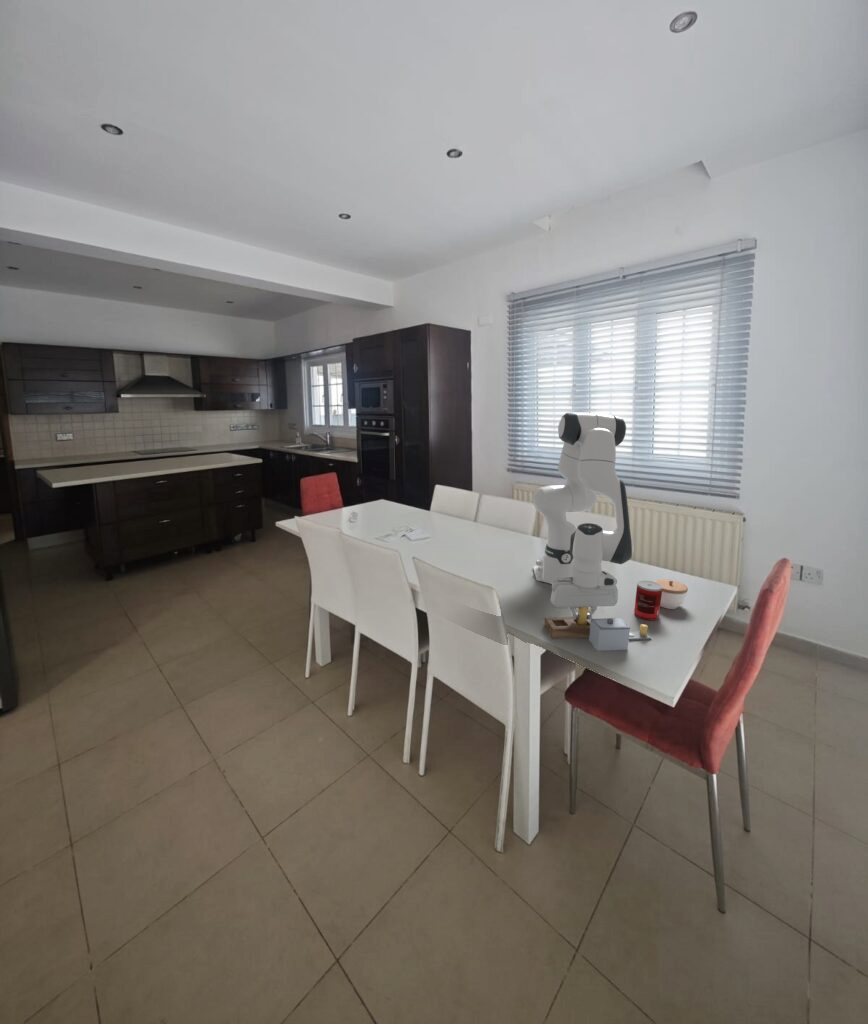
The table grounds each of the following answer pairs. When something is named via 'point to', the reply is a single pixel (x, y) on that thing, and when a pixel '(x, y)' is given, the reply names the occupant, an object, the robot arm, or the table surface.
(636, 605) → the canned food
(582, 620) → the peg
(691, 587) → the table surface
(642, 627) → the plate
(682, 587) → the lidded jar
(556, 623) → the socket board
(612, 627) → the cover
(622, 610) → the table surface
